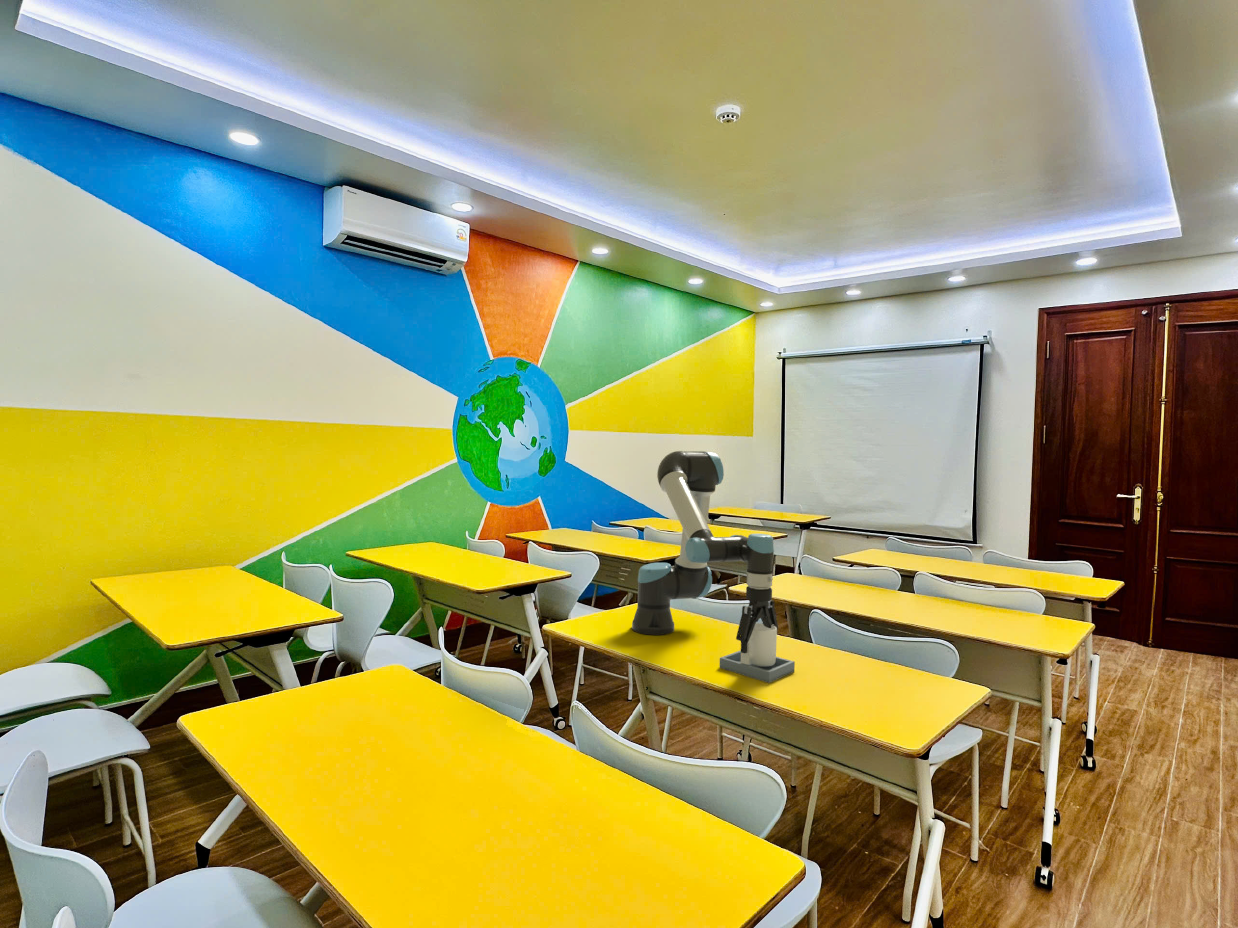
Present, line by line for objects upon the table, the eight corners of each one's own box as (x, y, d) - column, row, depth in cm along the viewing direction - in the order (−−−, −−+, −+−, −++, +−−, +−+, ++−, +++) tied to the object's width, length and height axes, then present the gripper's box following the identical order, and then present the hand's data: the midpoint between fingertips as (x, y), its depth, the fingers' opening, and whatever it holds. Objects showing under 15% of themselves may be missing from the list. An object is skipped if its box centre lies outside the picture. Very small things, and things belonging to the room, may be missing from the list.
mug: (731, 661, 200) (732, 626, 200) (761, 656, 206) (762, 621, 206) (751, 670, 193) (752, 633, 192) (781, 664, 199) (783, 628, 199)
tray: (719, 667, 200) (719, 657, 200) (745, 657, 210) (746, 648, 210) (769, 682, 189) (769, 672, 188) (794, 671, 199) (794, 661, 199)
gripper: (747, 594, 188) (744, 671, 188) (791, 583, 205) (788, 653, 205) (725, 589, 193) (722, 664, 193) (769, 579, 210) (767, 647, 211)
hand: (756, 658), depth 199 cm, fingers closed on mug, 12 cm apart
